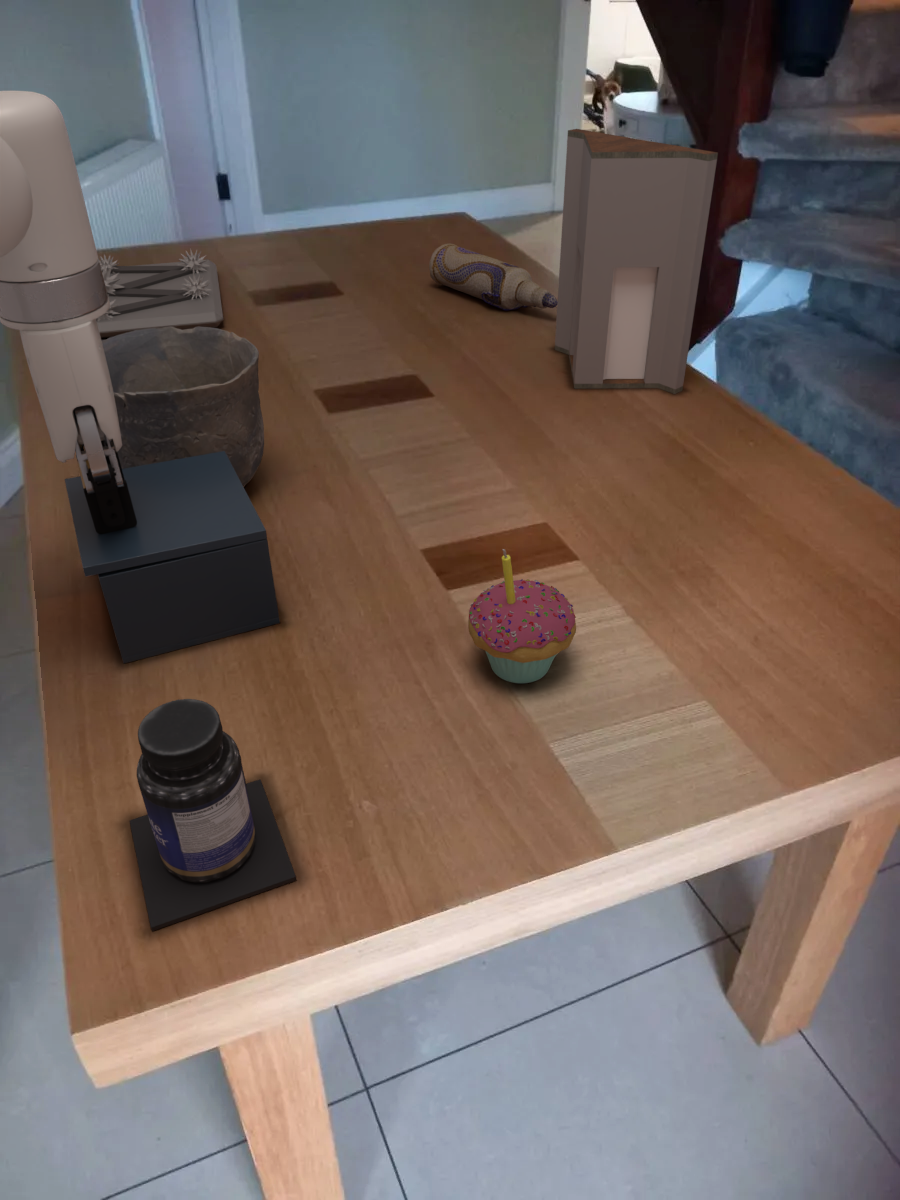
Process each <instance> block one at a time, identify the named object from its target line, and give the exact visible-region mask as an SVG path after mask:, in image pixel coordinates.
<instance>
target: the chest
mask: <svg viewBox="0 0 900 1200" xmlns="http://www.w3.org/2000/svg"><path fill="white" fill-rule="evenodd" d="M268 542H269V541H268V538H267V539H263V540H258V541H254V542H249V543H244V544H239V545H235V546H230V547H225V548H220V549H216V550H211V551H206V552H201V553H197V554H192V555H187V556H182V557H177V558H173V559H168V560H163V561H158V562H154V563H149V564H144V565H139V566H135V567H130V568H125V569H120V570H116V571H111V572H106V573H101V574H97V576H98V580H99V584H100V587H101V591H102V594H103V598H104V601H105V605H106V608H107V611H108V615H109V618H110V623H111V626H112V628H113V632H114V635H115V639H116V643H117V646H118V649H119V653H120V656H121V660H122V663H123V664H127V663H132V662H136V661H138V660H139V661H140V660H144V659H147V658H151V657H154V656H158V655H162V654H166V653H170V652H174V651H177V650H182V649H185V648H188V647H189V648H190V647H193V646H197V645H200V644H204V643H208V642H212V641H216V640H220V639H224V638H228V637H231V636H235V635H238V634H243V633H246V632H247V633H248V632H250V631H254V630H258V629H262V628H265V627H270V626H273V625H277V624H281V621H280V615H279V607H278V601H277V593H276V587H275V582H274V574H273V568H272V562H271V555H270V554H271V553H270V549H269V543H268Z"/></svg>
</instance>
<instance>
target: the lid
mask: <svg viewBox="0 0 900 1200" xmlns="http://www.w3.org/2000/svg"><path fill="white" fill-rule="evenodd" d="M86 463H87V467H88V469H89V468H90V465H89V461H88V460H86ZM77 466H78V470H79V471H78V472H79V475H80V476H73V477H68V478H64V483H65V488H66V493H67V498H68V502H69V508H70V513H71V517H72V518H71V519H72V522H73V527H74V531H75V537H76V541H77V546H78V551H79V557H80V562H81V567H82V570H83V573H84V577H85V578H86V577H91V576H96V575H97V576H98V574H101V573H106V572H111V571H116V570H120V569H125V568H130V567H135V566H139V565H144V564H149V563H154V562H158V561H163V560H168V559H173V558H177V557H182V556H187V555H192V554H197V553H201V552H206V551H211V550H216V549H220V548H225V547H230V546H235V545H239V544H244V543H249V542H254V541H258V540H263V539H267V540H268V534H267V529H266V528H265V525H264V523H263V521H262V519H261V517H260V516H259V514H258V512H257V510H256V508H255V506H254V505H253V503H252V500H251V498H250V496H249V495H248V493H247V491H246V489H245V486H244V487H243V485H242V483H241V481H240V480H239V478H238V476H237V474H236V472H235V470H234V468H233V466H232V464H231V462H230V460H229V459H228V457H227V455H226V453H225V451H222V452H216V453H210V454H205V455H199V456H193V457H188V458H182V459H176V460H170V461H165V462H159V463H153V464H148V465H142V466H136V467H130V468H125V469H122V472H123V475H124V479H125V480H126V482H127V486H128V490H129V494H130V497H131V501H132V505H133V509H134V512H135V516H136V520H137V525H136V526H135V527H131V528H127V529H122V530H118V531H114V532H109V533H105V534H98V533H97V532H96V530H95V527H94V523H93V520H92V517H91V513H90V510H89V507H88V503H87V500H86V497H85V493H84V490H83V489H84V488H86V486H85V483H84V479H83V476H82V472H81V469H80V465H79V462H77Z"/></svg>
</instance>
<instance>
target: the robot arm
mask: <svg viewBox="0 0 900 1200" xmlns="http://www.w3.org/2000/svg"><path fill="white" fill-rule="evenodd" d="M76 165H77V164H76V161H75V157H74V152H73V149H72V144H71V140H70V136H69V133H68V129H67V125H66V122H65V118H64V116H63V113H62V112H61V109H60V108H59V106H58V104H56V102H54V101H53V99H52V98H50V97H48V96H47V95H45V94H42V93H38V92H36V91H30V90H0V323H1V324H2V325H3V326H4V327H6V328H8V329H12V330H16V331H19V335H20V339H21V344H22V347H23V352H24V355H25V359H26V363H27V367H28V369H29V373H30V376H31V380H32V384H33V387H34V391H35V393H36V396H37V399H38V403H39V406H40V409H41V411H42V416H43V419H44V421H45V425H46V428H47V431H48V435H49V438H50V442H51V445H52V449H53V452H54V456H55V458H56V460H57V461H59V462H60V463H67V461H68V460H69V461H70V460H73V459H75V458H76V461H77V463H78V462H79V465H80V469H81V472H82V476H83V479H84V483H85V486H86V488H84V489H83V490H84V493H85V497H86V500H87V503H88V507H89V510H90V513H91V517H92V520H93V523H94V527H95V530H96V532H97V533H98V534H105V533H109V532H114V531H118V530H122V529H127V528H131V527H135V526H136V525H137V520H136V516H135V512H134V509H133V505H132V501H131V497H130V494H129V490H128V486H127V482H126V480H125V479H124V475H123V472H122V468H121V464H120V460H119V457H118V453H117V452H118V451H119V449H120V448H121V447H122V440H121V433H120V427H119V421H118V415H117V409H116V404H115V398H114V393H113V388H112V383H111V379H110V374H109V370H108V366H107V362H106V357H105V353H104V349H103V345H102V341H101V340H102V338H101V337H100V333H99V329H98V325H97V321H96V319H97V318H98V317H100V316H102V315H103V314H105V313H106V312H107V311H108V309H109V308H110V302H109V298H108V294H107V290H106V286H105V282H104V278H103V274H102V270H101V266H100V262H99V260H100V257H99V255H98V251H97V246H96V243H95V239H94V235H93V231H92V226H91V222H90V218H89V213H88V211H87V210H88V209H87V206H86V205H87V204H86V201H85V197H84V193H83V190H82V189H83V188H82V185H81V181H80V178H79V177H80V176H79V173H78V169H77V166H76ZM104 443H105V444H104ZM105 445H106V446H105ZM86 460H88V461H89V465H90V468H89V469H88V467H87V463H86Z"/></svg>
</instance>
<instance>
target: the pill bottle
mask: <svg viewBox="0 0 900 1200" xmlns="http://www.w3.org/2000/svg"><path fill="white" fill-rule="evenodd" d="M137 740H138V744H139V747H140V752H141V754H140V756H139V759H138V762H137V765H136V779H137V784H138V788H139V790H140V794H141V797H142V800H143V803H144V804H143V805H144V807H145V810H146V815H148V817H149V821H150V824H151V828H152V830H153V834H154V837H155V840H156V843H157V847H158V850H159V853H160V856H161V860H162V862H163V864H164V866H165V867H166V869H167V870H168V871H169V872H170V873H172V874H173V875H176V876H178V877H179V878H180V879H182V880H185V881H188V882H194V883H203V882H210V881H212V880H216V879H220V878H223V877H225V876H227V875H229V874H231V873H232V872H234V871H235V870H237V869H238V868H239V867H240V866H242V865H243V864H244V862H245V861H246V860H247V859H248V857H249V856H250V854H251V852H252V850H253V847H254V843H255V826H254V821H253V815H252V810H251V807H250V801H249V796H248V791H247V786H246V784H247V782H246V776H245V771H244V768H243V763H242V762H243V761H242V755H241V753H240V749H239V748H238V744H237V742H236V741H235V739H234V738H233V737H232V736H231V735H230V734H228V733H227V732H225V731H224V730H223V725H222V721H221V717H220V714H219V712H218V710H217V709H216V708H215V707H214V706H213V705H212V704H210V703H208V702H207V701H204V700H202V699H201V700H200V699H197V698H196V699H195V698H183V699H182V698H181V699H180V698H179V699H175V700H171V701H168V702H165V703H162V704H160V705H158V706H156V707H155V708H154V709H152V710H151V711H150V712H148V713H147V714H146V715H145V716H144V717H143V719H142V720H141V721H140V723H139V726H138V730H137Z"/></svg>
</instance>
